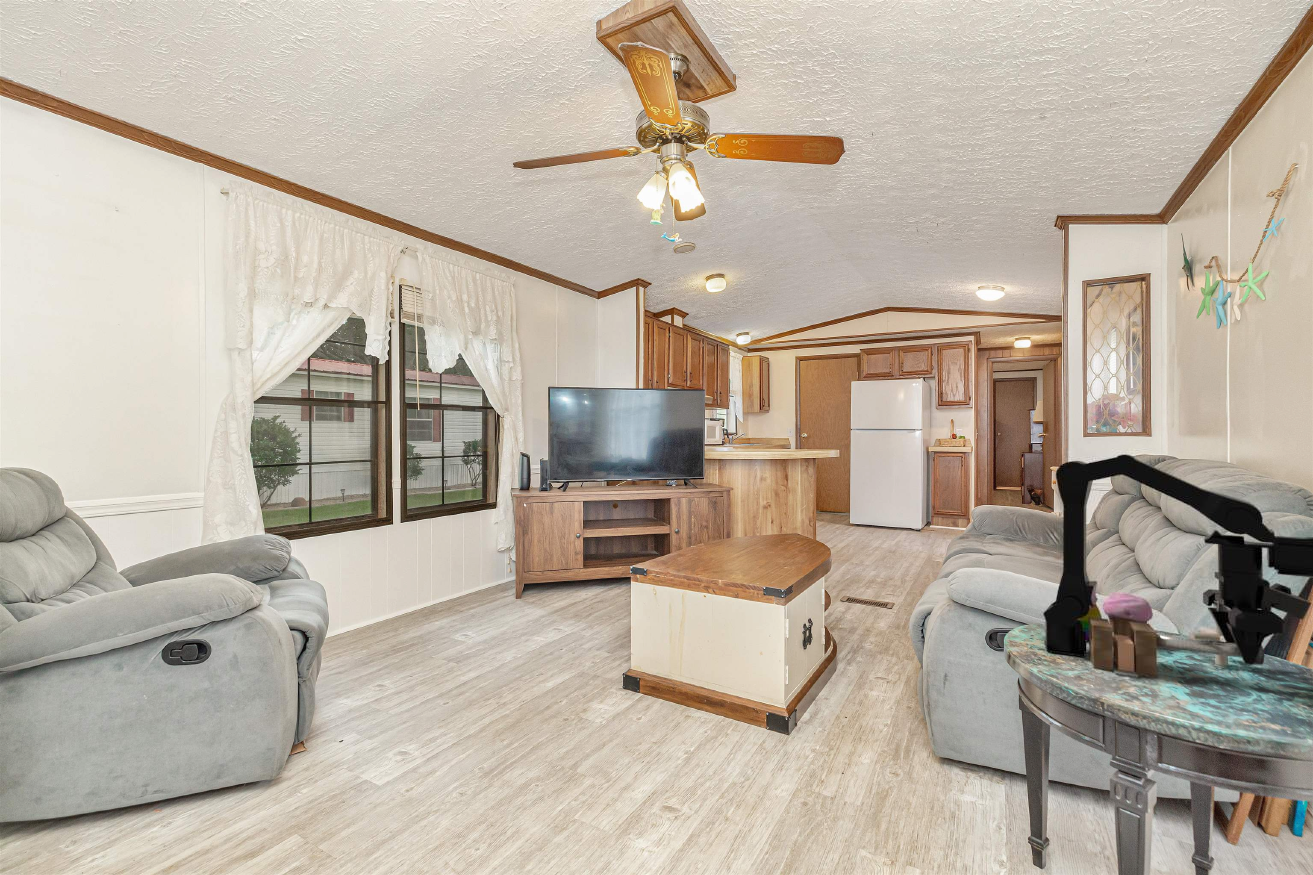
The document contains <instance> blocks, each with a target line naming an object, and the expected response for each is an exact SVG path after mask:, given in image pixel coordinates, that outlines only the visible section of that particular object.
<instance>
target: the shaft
mask: <svg viewBox="0 0 1313 875" xmlns="http://www.w3.org/2000/svg"><path fill="white" fill-rule="evenodd" d="M1156 647H1157V648H1159V649H1168V650H1177V651H1185V652H1191V653H1201V654H1208V655H1209V654H1210V655H1215V654H1216V655H1224V656H1228V657H1233V658H1242V656H1241V654H1240V652H1239V650H1238V648H1237V645H1236V643H1230V642H1221V641H1212V640H1204V639H1195V638H1189V637H1187V636H1186V637H1185V636H1178V635H1177V636H1176V635H1170V634H1169V635H1167V634H1162V633H1161V634H1160V633H1156ZM1242 659H1243V658H1242ZM1264 662H1265V652H1264V646H1263V645H1261V647H1260V649H1259V652H1258V654H1257V657H1256V659H1255V662H1254V664H1253V665H1258V666H1259V665H1260V666H1263V664H1264Z"/></svg>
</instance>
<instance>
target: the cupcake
mask: <svg viewBox="0 0 1313 875" xmlns="http://www.w3.org/2000/svg"><path fill="white" fill-rule="evenodd" d="M1102 610H1103V612H1104V614H1105V615H1106V616H1107V619H1108V621H1109V623H1110V624H1111V626H1112V627H1113V634H1114V635H1123V636H1129V638H1130V633H1129V622H1138V623H1147V624H1148V622H1149V621H1150V620H1152V619H1153V617H1154V616H1153V615H1154V614H1153V609H1152V606H1151V605H1150V603H1149V602H1148V601H1147V599H1145V598H1144V597H1140V596H1137V595H1133V594H1128V593H1126V592H1125V593H1124V592H1122V593H1121V592H1120V593H1119V592H1113V593H1110V595H1109V596H1108V597H1107V598H1106V599H1105V600H1104V601H1103V602H1102Z"/></svg>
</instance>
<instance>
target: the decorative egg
mask: <svg viewBox="0 0 1313 875" xmlns="http://www.w3.org/2000/svg"><path fill="white" fill-rule="evenodd" d="M1089 617H1093V618H1102V619H1103V617H1102V614H1101V611H1100V608H1099V607H1098V605H1097V604H1096V603H1095V605H1094V607H1091V609H1090V611H1089V612H1088V614H1087V615H1086V616H1084V617H1083V618H1079V619H1078V620H1080V621H1081V622H1082V624H1083V628H1084V629H1085V631H1086V642H1087V641H1088V642H1089Z"/></svg>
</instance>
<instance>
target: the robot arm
mask: <svg viewBox="0 0 1313 875" xmlns="http://www.w3.org/2000/svg"><path fill="white" fill-rule="evenodd" d="M1117 476H1125V477H1127V478H1130V479H1131V480H1134V481H1136V482H1138V483H1140V484H1143V485H1145V486H1147V487H1149V488H1150V489H1153V490H1155V491H1157V492H1159V493H1161V494H1164V495H1166V496H1168V497H1170V498H1172V499H1175V500H1177V501H1179V502H1181V503H1183V504H1185V505H1187V506H1189V507H1190V508H1193V509H1194V510H1195V511H1196V512H1198V513H1200V514H1201V515H1202V516H1204V517H1206V518H1207V519H1208V520H1210V521H1212V522H1214V523H1215V524H1216V525H1218V526H1220V528H1223V529H1224V530H1225V531H1227V532H1229V533H1232V534H1230V535H1229V534H1222V533H1221V532H1220V531H1218V530H1217V529H1214V530H1213V532H1211V534H1208V535H1207V536H1206V537H1204V538H1203V539H1204V540H1203V541H1204V543H1205V544H1208V545H1210V544H1211V545H1217V568H1218V571H1214V578H1215V579H1217V580H1218V589H1211V588H1208V589H1207V590H1206V591H1204V592H1203V593H1202V603H1203V604H1204V605H1205V606H1206V607H1207V606H1208V607H1207V611H1208V612H1209V613H1210V614H1211V617H1212V618H1213V620H1215V622H1216V624H1217V626H1218V628H1219V630H1220V631H1221V633H1222V635H1223V637H1224V639H1225V641H1226V642H1230V643H1236V645H1237V648H1238V650H1239V652H1240V654H1241V656H1242V661H1243V663H1245V664H1246V665H1255V664H1254V662H1255V659H1256V657H1257V654H1258V652H1259V649H1260V647H1261V645H1262V644H1263V642H1264V640H1265V638H1267V637H1269V636H1271V635H1277V634H1286V633H1287V624H1286V623H1287V622H1286V621H1285V619H1283V618H1281V616H1279V615H1278V614H1276V613H1275V612H1273V611H1272V608H1273V609H1275V610H1278V611H1281V612H1284V613H1286V614H1290V615H1291V616H1293V617H1295V618H1297V619H1300V620H1304V619H1305V617H1306V615H1307V613H1308V611H1309V609H1310V608H1311V605H1312V602H1310V601H1309V600H1307V599H1304V598H1302V597H1300V596H1297V595H1295V594H1292V588H1290V587H1288V586H1286V585H1283V584H1280V583H1278V582H1275V583H1274V584H1272V585H1271V583H1270V582H1269V581H1268V580H1267V579H1265V578H1264V577H1263V576H1264V574H1263V571H1264V570H1263V549H1266V551H1267V552H1266V555H1267V556H1266V558H1267V567H1268V568H1271V569H1272V568H1273V570H1275V571H1276V574H1277V575H1283V576H1294V577H1303V578H1313V536H1308V537H1307V536H1306V537H1301V536H1300V537H1298V536H1286V535H1285V536H1284V535H1275V531H1274V530H1273V528H1272V529H1269V528H1268V527H1267V526H1266V525H1265V524H1264V522H1263V519H1264V518H1263V515H1262V513H1261V511H1260V509H1259V508H1258V507H1257V506H1255V505H1254V504H1253V503H1251V502H1250V501H1247V500H1244V499H1240V498H1237V497H1233V496H1230V495H1226V494H1224V493H1218V492H1216V491H1215V492H1214V491H1211V490H1208V489H1205V488H1201V487H1199V486H1197V485H1195V484H1193V483H1190V482H1188V481H1186V480H1184V479H1182V478H1179V477H1178V476H1177V477H1176V476H1175V475H1173V474H1171V473H1169V472H1166V471H1164V470H1161V469H1159V468H1157V467H1155V466H1152V465H1150V464H1147V463H1146V462H1143V461H1141V460H1139V459H1137V458H1136V457H1135V456H1134V455H1131V454H1120V455H1116V456H1115V457H1112V458H1111V457H1110V458H1106V459H1101V460H1096V461H1092V462H1088V463H1087V462H1085V461H1082V460H1072V461H1066V462H1064V463H1062V464H1061V465H1059V466H1058V467H1057V469H1056V472H1055V479H1056V485H1057V488H1058V493H1059V496H1060V499H1061V502H1062V506H1063V511H1062V513H1063V514H1062V516H1063V517H1062V519H1063V520H1062V524H1063V526H1062V528H1063V530H1062V531H1063V532H1062V537H1063V538H1062V540H1063V541H1062V544H1063V545H1062V547H1063V548H1062V549H1063V550H1062V551H1063V552H1062V553H1063V554H1062V555H1063V556H1062V557H1063V559H1062V561H1063V563H1062V566H1063V567H1062V568H1063V569H1062V570H1063V571H1062V575H1061V578H1060V581H1059V584H1058V588H1057V592H1056V598H1055V601H1054V602H1052V603H1050V605H1049V606H1048V607H1047V609H1045V611H1043V613H1042V614H1043V617H1044V619H1045V620H1044V622H1045V623H1044V624H1045V628H1044V629H1045V640H1044V641H1043V642H1044V646H1045V649H1046V650H1045V651H1046V652H1048V653H1055V654H1060V655H1068V656H1074V657H1075V656H1076V657H1085V652H1087V641H1086V631H1085V629H1084V628H1083V624H1082V622H1081V621H1080V620H1078V619H1079V618H1083V617H1084V616H1086V615H1087V614H1088V612H1089V611H1090V609H1091V607H1094V605H1095V604H1096V603H1097V601H1098V598H1097V595H1096V593H1097V592H1096V589H1097V585H1098V581H1097V580H1090V578H1089V575H1088V573H1087V504H1088V500H1089V497H1090V494H1091V490H1092V486H1093V481H1097V480H1104V479H1107V478H1112V477H1117ZM1233 534H1235V535H1233ZM1244 535H1247V536H1249V537H1251V538H1253V539H1255V540H1257V541H1258V542H1255V541H1247V540H1246V541H1245V537H1244ZM1212 605H1213V607H1212ZM1215 622H1214V623H1215ZM1262 646H1263V645H1262Z"/></svg>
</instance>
